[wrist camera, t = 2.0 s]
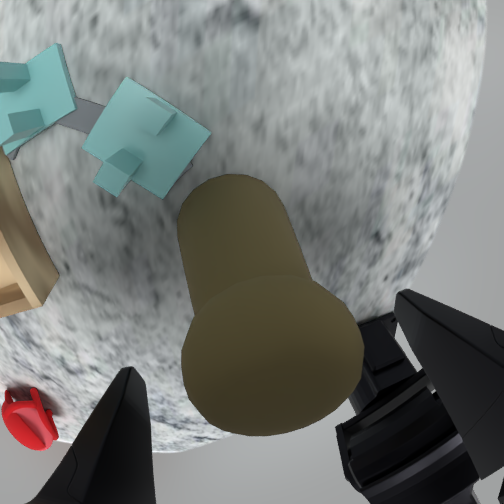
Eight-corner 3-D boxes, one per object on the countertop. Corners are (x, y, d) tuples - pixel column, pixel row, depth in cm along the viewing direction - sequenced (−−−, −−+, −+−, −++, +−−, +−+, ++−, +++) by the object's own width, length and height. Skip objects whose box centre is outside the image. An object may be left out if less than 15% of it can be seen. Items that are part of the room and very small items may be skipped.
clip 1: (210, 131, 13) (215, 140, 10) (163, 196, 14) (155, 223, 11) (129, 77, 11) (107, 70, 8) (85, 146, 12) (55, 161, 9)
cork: (299, 249, 17) (395, 405, 8) (207, 289, 18) (231, 468, 8) (264, 155, 14) (396, 276, 5) (156, 205, 14) (109, 391, 5)
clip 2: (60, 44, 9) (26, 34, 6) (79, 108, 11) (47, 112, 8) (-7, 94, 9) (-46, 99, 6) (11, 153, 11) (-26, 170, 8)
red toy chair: (43, 410, 17) (-10, 422, 13) (69, 455, 18) (20, 467, 14) (36, 370, 23) (-7, 380, 19) (54, 412, 24) (14, 422, 20)
